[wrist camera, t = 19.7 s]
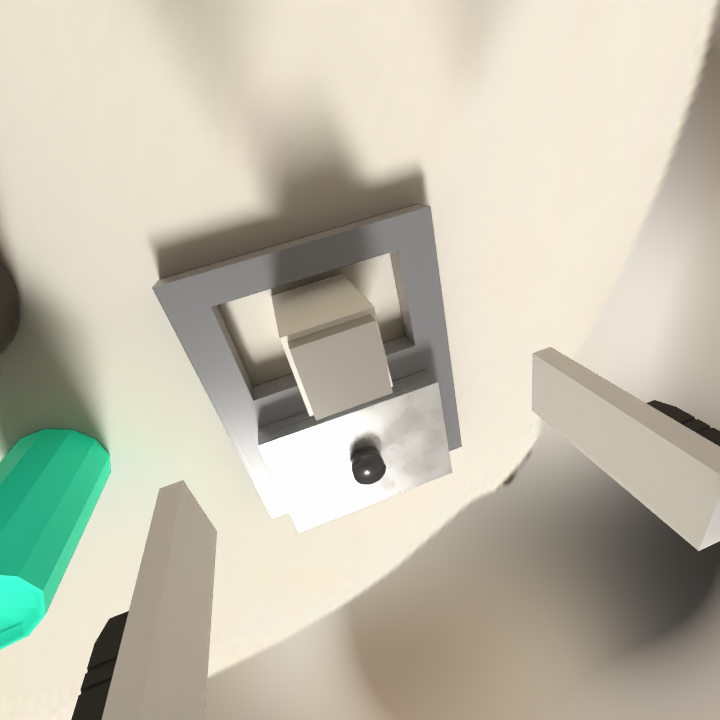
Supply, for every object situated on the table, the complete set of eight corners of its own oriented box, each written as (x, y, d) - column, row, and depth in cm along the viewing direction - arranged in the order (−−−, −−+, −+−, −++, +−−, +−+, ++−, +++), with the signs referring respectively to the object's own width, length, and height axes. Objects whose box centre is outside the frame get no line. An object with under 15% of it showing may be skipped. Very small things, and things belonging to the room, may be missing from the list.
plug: (295, 359, 28) (312, 426, 20) (271, 295, 25) (281, 345, 18) (359, 337, 28) (399, 395, 21) (342, 273, 26) (379, 312, 19)
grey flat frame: (159, 279, 23) (152, 287, 21) (417, 204, 25) (430, 206, 23) (270, 500, 33) (272, 518, 31) (451, 432, 35) (461, 446, 33)
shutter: (257, 428, 27) (258, 457, 24) (426, 369, 28) (446, 390, 26) (296, 512, 31) (301, 545, 28) (441, 456, 33) (459, 482, 30)
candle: (17, 418, 24) (-154, 599, 14) (121, 439, 27) (42, 607, 16) (1, 488, 26) (-163, 697, 16) (100, 502, 29) (16, 691, 18)
